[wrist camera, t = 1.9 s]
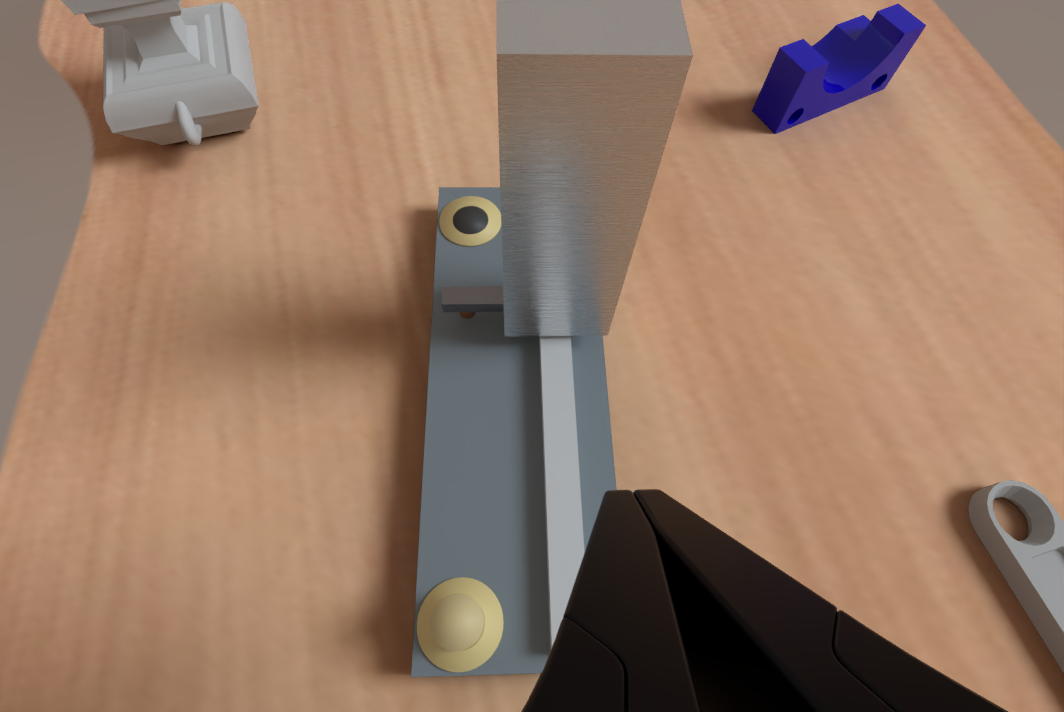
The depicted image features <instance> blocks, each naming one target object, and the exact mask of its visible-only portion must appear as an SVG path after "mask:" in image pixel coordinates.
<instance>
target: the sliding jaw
mask: <svg viewBox="0 0 1064 712" xmlns="http://www.w3.org/2000/svg"><path fill="white" fill-rule="evenodd" d="M692 57H693V54H692V49H691V45H690V41H689V36H688V32H687V27H686V23H685V18H684V14H683V9H682V5H681V0H497V85H498V121H499V157H500V193H501V229H502V265H503V286H487V287H442V304H441V305H442V309H443V312H459V314H460V316H461V317H462V318H465V319H469V318H472V317H473V316H474V315H475V314H476V312H504V336H603V335H608V332H609V329H610V326H611V322H612V319H613V316H614V313H615V309H616V306H617V303H618V299H619V296H620V293H621V290H622V286H623V283H624V280H625V276H626V273H627V270H628V267H629V263H630V260H631V257H632V254H633V250H634V247H635V244H636V240H637V237H638V234H639V231H640V227H641V224H642V221H643V217H644V214H645V211H646V208H647V204H648V201H649V198H650V194H651V191H652V188H653V185H654V181H655V178H656V175H657V171H658V168H659V165H660V162H661V158H662V155H663V152H664V149H665V145H666V142H667V139H668V135H669V132H670V129H671V126H672V122H673V119H674V116H675V112H676V109H677V106H678V103H679V99H680V96H681V93H682V89H683V86H684V83H685V80H686V76H687V73H688V70H689V66H690V63H691V60H692Z"/></svg>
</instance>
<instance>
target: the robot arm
mask: <svg viewBox="0 0 1064 712" xmlns="http://www.w3.org/2000/svg"><path fill="white" fill-rule="evenodd" d="M522 712H1008V711H1006V710H1004V709H1003V708H1001V707H999V706H998V705H996V704H994V703H992V702H991V701H989V700H987V699H985V698H984V697H982V696H980V695H978V694H977V693H975V692H973V691H971V690H970V689H968V688H966V687H964V686H963V685H961V684H959V683H957V682H956V681H954V680H952V679H951V678H949V677H947V676H946V675H944V674H942V673H941V672H939V671H937V670H935V669H934V668H932V667H930V666H929V665H927V664H925V663H924V662H922V661H920V660H919V659H917V658H915V657H913V656H912V655H910V654H908V653H907V652H905V651H904V650H902V649H901V648H899V647H898V646H896V645H894V644H893V643H891V642H890V641H888V640H887V639H885V638H883V637H882V636H880V635H879V634H877V633H876V632H874V631H872V630H871V629H869V628H868V627H866V626H865V625H863V624H862V623H860V622H859V621H857V620H856V619H854V618H853V617H851V616H850V615H848V614H847V613H845V612H844V611H842V610H839V611H838V612H837V608H836V606H834V605H833V604H831V603H830V602H828V601H827V600H825V599H824V598H822V597H821V596H819V595H818V594H816V593H815V592H813V591H812V590H810V589H809V588H807V587H806V586H804V585H803V584H801V583H800V582H798V581H797V580H795V579H794V578H792V577H791V576H789V575H788V574H786V573H785V572H783V571H782V570H780V569H779V568H777V567H776V566H774V565H772V564H771V563H769V562H768V561H766V560H765V559H763V558H762V557H760V556H759V555H757V554H756V553H754V552H753V551H751V550H750V549H748V548H747V547H745V546H744V545H742V544H741V543H739V542H738V541H736V540H735V539H733V538H732V537H730V536H729V535H727V534H726V533H724V532H723V531H721V530H720V529H718V528H717V527H715V526H714V525H712V524H711V523H709V522H708V521H706V520H705V519H703V518H702V517H700V516H699V515H697V514H696V513H694V512H693V511H691V510H690V509H688V508H687V507H685V506H684V505H682V504H681V503H679V502H678V501H676V500H675V499H673V498H672V497H670V496H669V495H667V494H666V493H664V492H662V491H661V490H657V489H648V490H635V491H634V492H633V493H632V491H630V490H608V491H606V492H605V493H604V496H603V499H602V502H601V505H600V508H599V511H598V514H597V517H596V520H595V523H594V526H593V529H592V532H591V535H590V538H589V541H588V544H587V547H586V550H585V553H584V556H583V559H582V562H581V565H580V568H579V571H578V574H577V577H576V580H575V583H574V586H573V589H572V592H571V595H570V598H569V601H568V604H567V607H566V610H565V613H564V616H563V619H562V621H561V623H560V626H559V629H558V632H557V635H556V638H555V641H554V643H553V646H552V648H551V651H550V654H549V656H548V659H547V661H546V664H545V666H544V669H543V671H542V673H541V675H540V677H539V679H538V681H537V683H536V685H535V687H534V689H533V691H532V693H531V695H530V697H529V699H528V701H527V703H526V705H525V706H524V708H523V710H522Z"/></svg>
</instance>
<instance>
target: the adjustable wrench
mask: <svg viewBox="0 0 1064 712" xmlns="http://www.w3.org/2000/svg"><path fill="white" fill-rule="evenodd" d="M998 497H1003V498H1006V499H1008V500H1010V501H1011V502H1013V503H1014V504H1015V505H1017V506H1018V507H1019V509H1020V510H1021V511H1022V512H1023V513H1024V515H1025V517H1026V519H1027V522H1028V527H1029V532H1028V537H1027V538H1026V539H1025V540H1022V541H1017V540H1015V539H1014V538H1012V537H1011V536H1010V535H1009V534H1007V533H1006V532H1005V531H1004V529H1003V528H1002V527H1001V526H1000V524H999V523H998V521H997V519H996V517H995V515H994V510H993V499H995V498H998ZM968 512H969V518H970V521H971V524H972V526H973V528H974V530H975V532H976V533H977V535H978V537H979V538H980V540H981V541H982V543H983V545H984V546H985V548H986V549H987V551H988V553H989V554H990V556H991V557H992V559H993V561H994V562H995V564H996V566H997V567H998V569H999V570H1000V572H1001V574H1002V575H1003V577H1004V578H1005V580H1006V582H1007V583H1008V585H1009V586H1010V588H1011V590H1012V591H1013V593H1014V594H1015V596H1016V598H1017V599H1018V601H1019V603H1020V604H1021V606H1022V607H1023V609H1024V611H1025V612H1026V614H1027V615H1028V617H1029V619H1030V620H1031V622H1032V623H1033V625H1034V627H1035V628H1036V630H1037V632H1038V633H1039V635H1040V636H1041V638H1042V640H1043V641H1044V643H1045V644H1046V646H1047V648H1048V649H1049V651H1050V652H1051V654H1052V656H1053V657H1054V659H1055V660H1056V662H1057V664H1058V665H1059V667H1060V669H1061V670H1062V672H1063V673H1064V522H1063V520H1062V519H1061V517H1060V516H1059V514H1058V513H1057V511H1056V510H1055V508H1054V507H1053V505H1052V504H1051V503H1050V502H1049V501H1048V500H1047V498H1046V497H1045V496H1044V495H1043V494H1042V493H1040V492H1039V491H1038V490H1036V489H1035V488H1034V487H1031V486H1029V485H1027V484H1025V483H1023V482H1018V481H1012V480H1010V481H1003V482H999V483H996V484H993V485H990V486H988V487H985V488H982V489H980V490H979V491H977V492H975V493H974V495H973V496H972V497H971V499H970V502H969V507H968Z"/></svg>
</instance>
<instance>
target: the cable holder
mask: <svg viewBox="0 0 1064 712" xmlns="http://www.w3.org/2000/svg"><path fill="white" fill-rule="evenodd" d="M925 26H926V25H925V24H924V23H922V22H921V21H920V20H919V19H917V18H916V17H915V16H913V15H912V14H911V13H910V12H908V11H907V10H906V9H905V8H903V7H902V6H901V5H899V4H896V5H893V6H891V7H888V8H885V9H883V10H880V11H877V13H876V14H875V16H874V18H873V19H872V21H870V20H869V19H868V18H866V17H865V16H864V15H862V16H860V17H857V18H854V19H851V20H849V21H846V22H843V23H841V24H838V25H836V26H835V27H834V28H833V29H832V30H831V31H830V32H829V33H828V34H827V35H826V36H825V37H824V38H822V39H821V40H820V41H819V42H817V43H816V44H815V45H813V46H810V45H809V44H808V43H807V42H806V41H805V40H804V39H802V40H799V41H797V42H794V43H791V44H788V45H786V46H783V47H780V48H779V51H778V53H777V55H776V57H775V60H774V62H773V64H772V67H771V69H770V71H769V73H768V76H767V78H766V80H765V82H764V85H763V87H762V89H761V91H760V94H759V96H758V98H757V101H756V103H755V105H754V107H753V110H752V111H753V112H754V113H755V114H756V115H757V116H758V117H759V118H760V119H761V120H762V121H763V122H764V123H765V125H766V126H767V127H768V128H769V129H770V130H771V131H772V132H773V133H774V134H776V133H779V132H781V131H784V130H786V129H789V128H791V127H793V126H796V125H798V124H801V123H803V122H805V121H808V120H810V119H813V118H815V117H818V116H820V115H822V114H825V113H827V112H830V111H832V110H834V109H837V108H839V107H842V106H844V105H847V104H849V103H851V102H854V101H856V100H859V99H861V98H863V97H866V96H868V95H871V94H873V93H876V92H878V91H880V90H883V89H884V88H885V87H886V85H887V84H888V82H889V81H890V79H891V78H892V76H893V75H894V73H895V72H896V70H897V69H898V67H899V66H900V64H901V63H902V61H903V60H904V58H905V57H906V55H907V54H908V52H909V51H910V49H911V48H912V46H913V45H914V43H915V42H916V40H917V39H918V37H919V36H920V34H921V32H922V31H923V29H924V28H925Z"/></svg>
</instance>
